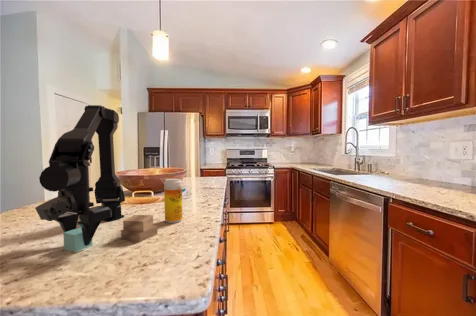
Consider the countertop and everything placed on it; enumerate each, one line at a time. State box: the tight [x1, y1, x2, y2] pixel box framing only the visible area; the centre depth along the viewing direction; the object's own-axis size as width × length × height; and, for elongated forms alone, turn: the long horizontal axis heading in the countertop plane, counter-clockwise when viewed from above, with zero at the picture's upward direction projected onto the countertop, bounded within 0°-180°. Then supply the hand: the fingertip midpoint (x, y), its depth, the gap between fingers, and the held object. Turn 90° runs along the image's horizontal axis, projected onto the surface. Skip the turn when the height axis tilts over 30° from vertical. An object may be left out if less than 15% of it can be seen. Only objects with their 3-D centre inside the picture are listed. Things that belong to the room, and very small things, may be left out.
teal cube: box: [63, 227, 93, 253], centre depth 63 cm, size 4×4×4 cm
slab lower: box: [120, 224, 158, 243], centre depth 71 cm, size 7×7×3 cm
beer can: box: [163, 177, 183, 224], centre depth 85 cm, size 6×6×15 cm
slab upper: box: [122, 214, 154, 232], centre depth 70 cm, size 6×6×3 cm
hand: (78, 243), depth 63 cm, fingers open, 6 cm apart
